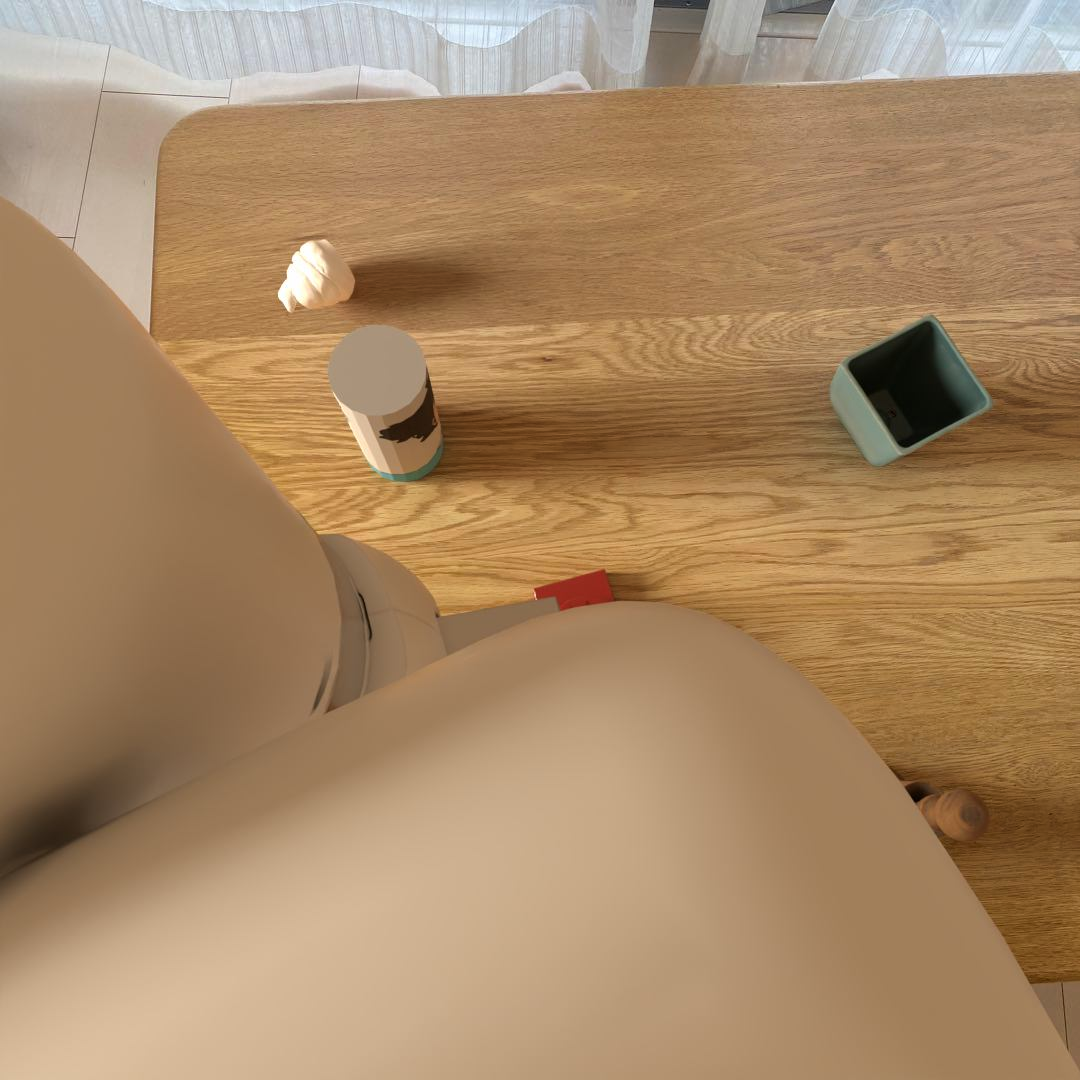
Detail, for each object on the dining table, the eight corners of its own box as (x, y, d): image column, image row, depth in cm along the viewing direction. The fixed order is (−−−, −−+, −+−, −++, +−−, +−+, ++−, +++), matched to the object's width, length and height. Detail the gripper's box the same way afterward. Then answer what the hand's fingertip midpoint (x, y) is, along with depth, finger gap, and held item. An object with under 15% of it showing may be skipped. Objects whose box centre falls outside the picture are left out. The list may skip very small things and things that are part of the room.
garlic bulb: (271, 296, 81) (253, 263, 76) (325, 256, 82) (312, 221, 77) (309, 340, 80) (294, 310, 75) (364, 299, 81) (353, 267, 76)
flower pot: (859, 492, 78) (902, 457, 69) (803, 405, 80) (838, 360, 71) (946, 445, 79) (998, 405, 70) (888, 360, 81) (933, 311, 72)
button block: (640, 690, 74) (645, 687, 71) (566, 712, 73) (568, 709, 70) (604, 571, 76) (607, 563, 73) (532, 591, 75) (532, 584, 73)
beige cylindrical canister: (460, 445, 78) (447, 372, 64) (400, 498, 77) (372, 435, 62) (407, 390, 79) (382, 305, 65) (346, 441, 78) (307, 366, 64)
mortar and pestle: (813, 836, 71) (909, 858, 54) (827, 752, 73) (924, 747, 55) (898, 858, 71) (1022, 887, 54) (910, 773, 73) (1035, 774, 55)
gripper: (-245, 969, 18) (129, 877, 34) (631, 715, 19) (581, 745, 36) (-272, 592, 19) (96, 679, 36) (531, 385, 21) (528, 560, 37)
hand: (337, 711), depth 36 cm, fingers open, 9 cm apart
